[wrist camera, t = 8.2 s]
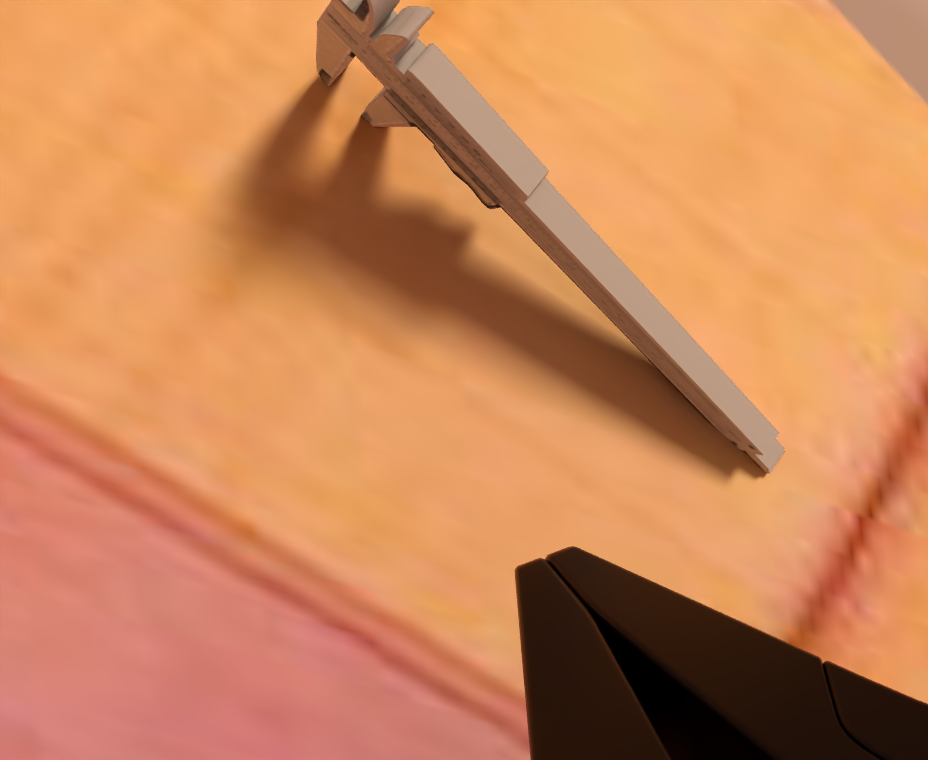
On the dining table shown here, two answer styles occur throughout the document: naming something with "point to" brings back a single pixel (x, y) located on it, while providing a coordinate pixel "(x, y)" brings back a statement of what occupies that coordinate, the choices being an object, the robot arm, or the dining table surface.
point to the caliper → (525, 198)
